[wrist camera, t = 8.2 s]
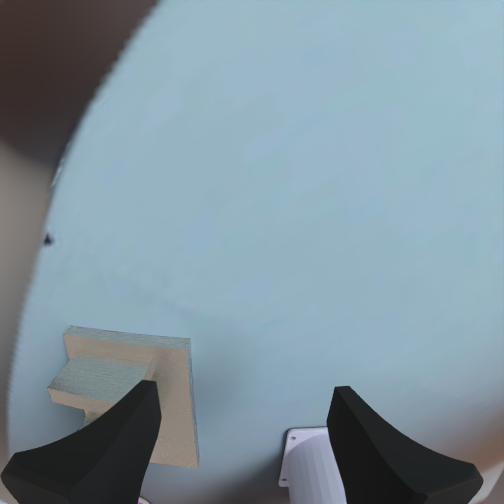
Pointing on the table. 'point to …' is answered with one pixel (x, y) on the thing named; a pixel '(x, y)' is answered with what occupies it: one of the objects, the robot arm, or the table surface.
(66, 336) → the stand frame
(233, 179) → the table surface
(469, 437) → the table surface
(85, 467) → the robot arm
